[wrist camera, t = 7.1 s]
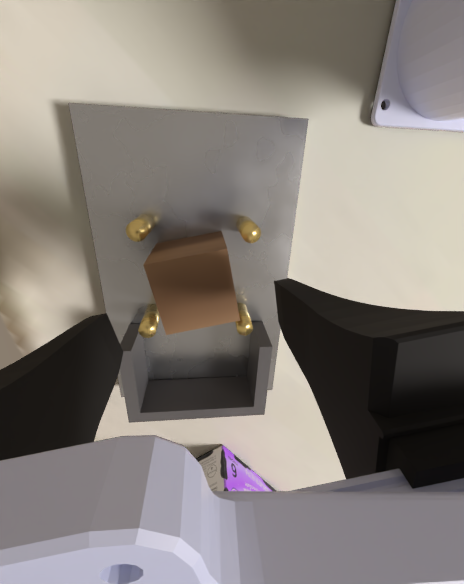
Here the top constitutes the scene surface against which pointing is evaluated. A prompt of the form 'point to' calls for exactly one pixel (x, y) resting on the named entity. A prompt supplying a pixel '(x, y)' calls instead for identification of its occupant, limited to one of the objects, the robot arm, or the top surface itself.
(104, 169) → the base plate
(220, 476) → the candy box
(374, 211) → the top surface
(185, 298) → the walnut block
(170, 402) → the housing
